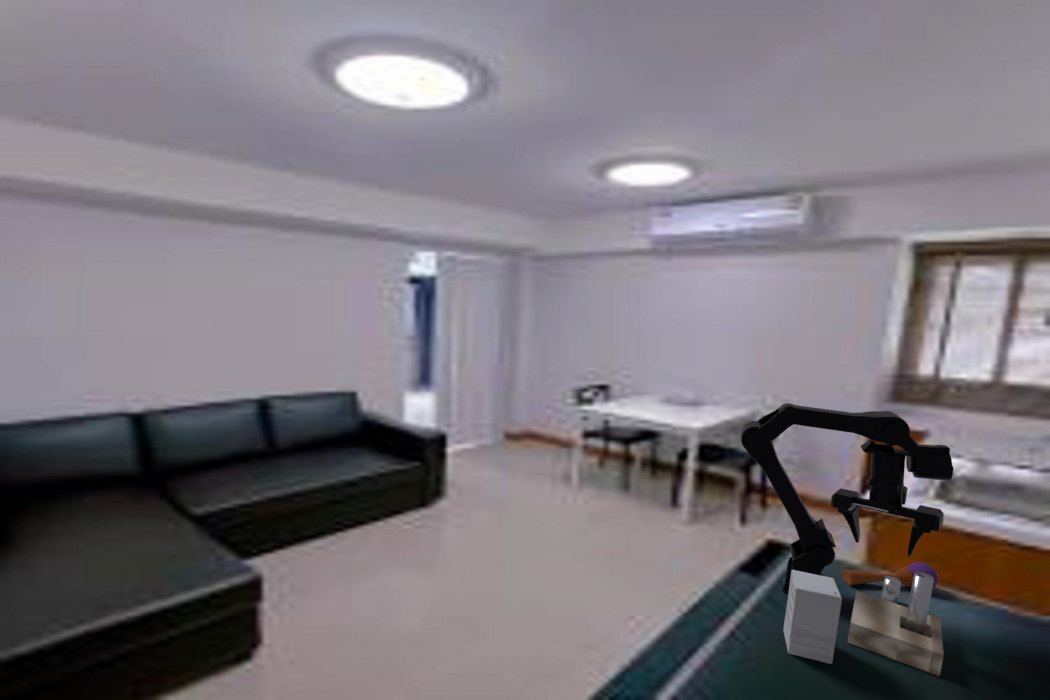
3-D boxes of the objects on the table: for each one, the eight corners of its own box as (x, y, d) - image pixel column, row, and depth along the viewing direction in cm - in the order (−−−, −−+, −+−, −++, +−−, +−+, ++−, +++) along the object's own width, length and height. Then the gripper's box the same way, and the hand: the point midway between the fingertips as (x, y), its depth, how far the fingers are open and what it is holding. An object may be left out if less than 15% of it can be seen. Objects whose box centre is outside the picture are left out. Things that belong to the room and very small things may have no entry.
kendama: (838, 559, 130) (923, 558, 130) (839, 586, 130) (925, 584, 130) (854, 568, 124) (943, 567, 124) (855, 596, 124) (945, 594, 124)
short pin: (880, 601, 120) (884, 579, 119) (881, 596, 123) (884, 574, 122) (897, 607, 118) (901, 585, 118) (897, 601, 121) (901, 579, 120)
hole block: (847, 642, 105) (850, 622, 104) (853, 609, 116) (856, 591, 116) (939, 676, 97) (943, 655, 97) (936, 637, 109) (940, 618, 108)
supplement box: (825, 641, 105) (835, 577, 103) (832, 666, 98) (843, 598, 96) (782, 630, 107) (791, 568, 105) (786, 653, 100) (796, 587, 99)
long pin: (898, 643, 106) (910, 573, 104) (907, 639, 107) (919, 570, 105) (915, 653, 103) (928, 581, 101) (924, 649, 105) (937, 578, 103)
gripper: (950, 475, 113) (945, 549, 115) (846, 457, 126) (843, 524, 128) (941, 489, 105) (936, 569, 107) (831, 468, 118) (828, 540, 120)
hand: (882, 548), depth 115 cm, fingers open, 9 cm apart
